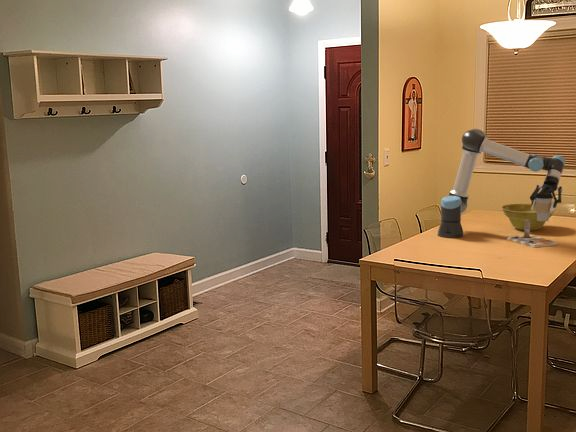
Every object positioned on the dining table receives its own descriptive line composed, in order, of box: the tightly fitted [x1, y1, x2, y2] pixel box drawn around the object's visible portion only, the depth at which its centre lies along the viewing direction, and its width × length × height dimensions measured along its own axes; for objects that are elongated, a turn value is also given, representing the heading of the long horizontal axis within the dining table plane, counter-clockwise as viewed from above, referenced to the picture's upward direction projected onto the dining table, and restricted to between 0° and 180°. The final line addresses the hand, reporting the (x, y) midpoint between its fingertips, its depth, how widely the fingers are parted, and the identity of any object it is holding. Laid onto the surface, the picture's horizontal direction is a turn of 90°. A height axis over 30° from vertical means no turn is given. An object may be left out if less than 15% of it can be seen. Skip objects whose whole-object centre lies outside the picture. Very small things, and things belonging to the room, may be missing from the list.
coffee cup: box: [535, 192, 554, 222], centre depth 349 cm, size 9×9×15 cm
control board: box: [507, 220, 558, 248], centre depth 356 cm, size 22×16×12 cm
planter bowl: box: [500, 203, 557, 232], centre depth 394 cm, size 32×32×13 cm
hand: (541, 210), depth 347 cm, fingers closed on coffee cup, 9 cm apart
